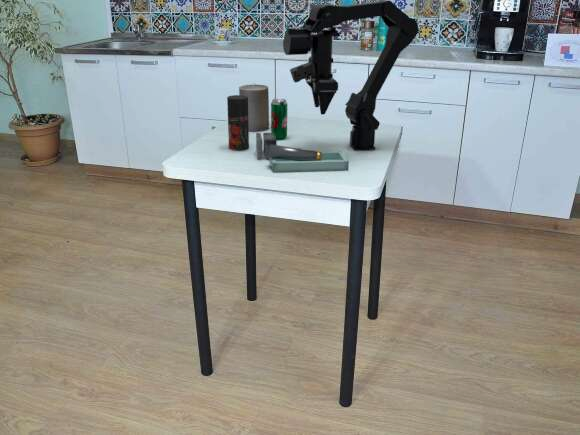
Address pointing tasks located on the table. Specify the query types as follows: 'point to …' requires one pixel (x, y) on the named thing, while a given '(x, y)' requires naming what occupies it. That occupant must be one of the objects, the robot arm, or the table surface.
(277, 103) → the soda can
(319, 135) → the table surface
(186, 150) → the table surface
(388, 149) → the table surface
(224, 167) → the table surface
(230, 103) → the deodorant
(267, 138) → the clevis
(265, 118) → the pillar candle
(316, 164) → the tray
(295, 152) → the dark grey cylinder
